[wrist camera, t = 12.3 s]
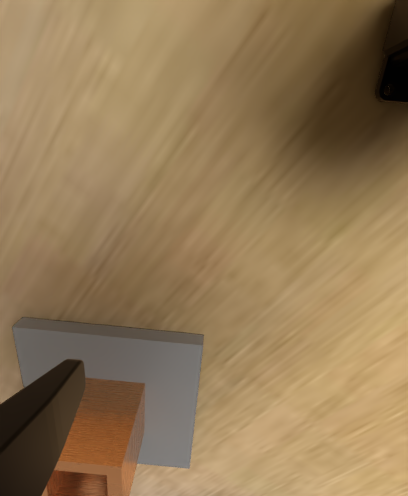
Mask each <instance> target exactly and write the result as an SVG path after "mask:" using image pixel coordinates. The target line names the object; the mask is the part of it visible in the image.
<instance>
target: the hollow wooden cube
mask: <svg viewBox="0 0 408 496" xmlns="http://www.w3.org/2000/svg"><path fill="white" fill-rule="evenodd" d="M85 380H86V386H85V391H84V394H83V397H82V400H81V402H80V405H79V408H78V410H77V413H76V416H75V418H74V421H73V424H72V427H71V429H70V432H69V435H68V437H67V440H66V443H65V445H64V448H63V450H62V453H61V455H60V458H59V460H58V462H57V464H56V467H55V469H54V471H53V473H52V475H51V477H50V479H49V481H48V483H47V485H46V488H45V490H44V492H43V494H42V496H129V494H130V490H131V486H132V482H133V478H134V474H135V469H136V465H137V461H138V457H139V453H140V449H141V444H142V440H143V436H144V426H145V383H137V382H126V381H116V380H106V379H96V378H85Z"/></svg>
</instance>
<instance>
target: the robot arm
mask: <svg viewBox="0 0 408 496" xmlns="http://www.w3.org/2000/svg"><path fill="white" fill-rule="evenodd" d="M383 53H384V56H385V58H384V61H383V65H382V68H381V72H380V76H379V79H378V83H377V87H376V90H375V95H376V98H377V99H378V100H379V101H383V102H393V103H404V104H408V0H396V3H395V7H394V11H393V14H392V18H391V22H390V25H389V29H388V33H387V37H386V40H385V44H384V48H383ZM386 86H389V88H390V92H389V93H388V95H386V94H385V93H384V89H385V87H386ZM85 386H86V380H85V368H84V362H83V361H82V360H79V359H66V360H64V361H62V362H61V363H60V364H58V365H57V366H55V367H54V368H52V369H51V370H49V371H48V372H47V373H45V374H44V375H42V376H41V377H39V378H38V379H36V380H35V381H33V382H32V383H31V384H29V385H28V386H26V387H25V388H23V389H22V390H20V391H19V392H18V393H16V394H15V395H13V396H12V397H10V398H9V399H7V400H6V401H5V402H3V403H2V404H0V496H42V494H43V492H44V490H45V488H46V485H47V483H48V481H49V479H50V477H51V475H52V473H53V471H54V469H55V467H56V464H57V462H58V460H59V458H60V455H61V453H62V450H63V448H64V445H65V443H66V440H67V437H68V435H69V432H70V429H71V427H72V424H73V421H74V418H75V416H76V413H77V410H78V408H79V405H80V402H81V400H82V397H83V394H84V391H85Z"/></svg>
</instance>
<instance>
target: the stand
mask: <svg viewBox="0 0 408 496" xmlns="http://www.w3.org/2000/svg"><path fill="white" fill-rule="evenodd" d="M12 329H13V335H14V340H15V345H16V350H17V355H18V360H19V365H20V371H21V376H22V381H23V386H24V388H25V387H26V386H28V385H29V384H31V383H32V382H33V381H35V380H36V379H38V378H39V377H41V376H42V375H44V374H45V373H47V372H48V371H49V370H51V369H52V368H54V367H55V366H57V365H58V364H60V363H61V362H62V361H64V360H66V359H79V360H82V361H83V362H84V368H85V378H96V379H106V380H116V381H126V382H137V383H145V426H144V436H143V440H142V444H141V449H140V453H139V457H138V461H137V464H147V465H158V466H168V467H178V468H190V459H191V450H192V441H193V432H194V423H195V414H196V405H197V396H198V387H199V378H200V369H201V360H202V351H203V338H204V335H200V334H190V333H179V332H169V331H159V330H149V329H138V328H128V327H118V326H107V325H97V324H87V323H76V322H66V321H56V320H46V319H35V318H25V317H22V318H21V319H20V320H19V321H18V322H17V323H16V324H15V325H14V326H13V327H12Z"/></svg>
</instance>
